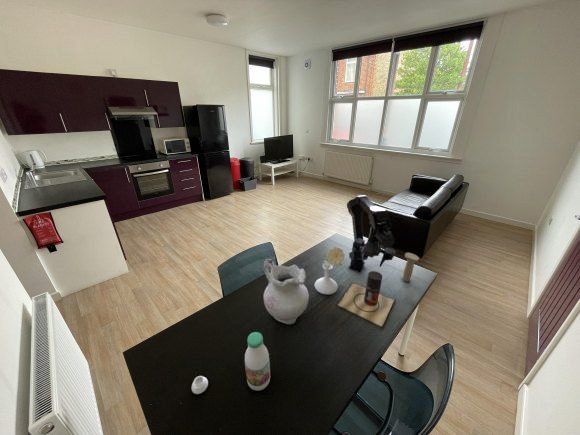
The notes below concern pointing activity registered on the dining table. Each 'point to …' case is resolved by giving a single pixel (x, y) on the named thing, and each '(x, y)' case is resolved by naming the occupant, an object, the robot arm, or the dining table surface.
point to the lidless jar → (199, 385)
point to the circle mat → (356, 305)
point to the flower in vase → (326, 283)
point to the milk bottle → (257, 362)
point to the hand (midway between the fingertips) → (370, 263)
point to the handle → (409, 266)
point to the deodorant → (372, 288)
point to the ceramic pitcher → (285, 292)
